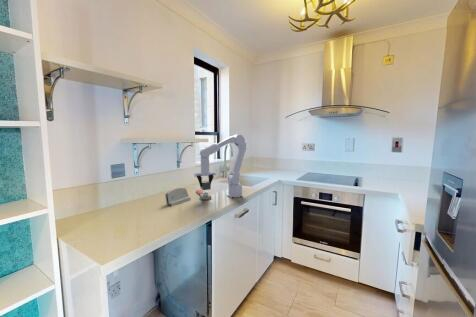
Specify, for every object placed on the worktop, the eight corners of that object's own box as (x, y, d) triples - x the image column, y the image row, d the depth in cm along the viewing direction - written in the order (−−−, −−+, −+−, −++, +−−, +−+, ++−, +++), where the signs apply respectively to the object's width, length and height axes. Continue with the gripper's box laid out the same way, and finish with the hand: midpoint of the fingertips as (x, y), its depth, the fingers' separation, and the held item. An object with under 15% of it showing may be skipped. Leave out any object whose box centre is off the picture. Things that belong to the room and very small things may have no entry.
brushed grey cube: (208, 187, 149) (208, 180, 148) (210, 189, 144) (210, 182, 143) (200, 188, 146) (200, 181, 146) (202, 190, 141) (202, 182, 141)
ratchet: (203, 191, 167) (203, 185, 166) (212, 199, 144) (212, 192, 143) (193, 192, 163) (193, 186, 163) (201, 201, 141) (201, 194, 140)
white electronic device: (171, 206, 130) (167, 190, 131) (166, 207, 132) (162, 192, 133) (191, 199, 144) (187, 185, 145) (186, 200, 146) (182, 186, 147)
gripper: (213, 165, 150) (213, 184, 152) (193, 166, 144) (193, 185, 146) (216, 166, 144) (216, 186, 145) (195, 167, 138) (195, 188, 139)
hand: (205, 186), depth 145 cm, fingers closed on brushed grey cube, 6 cm apart
